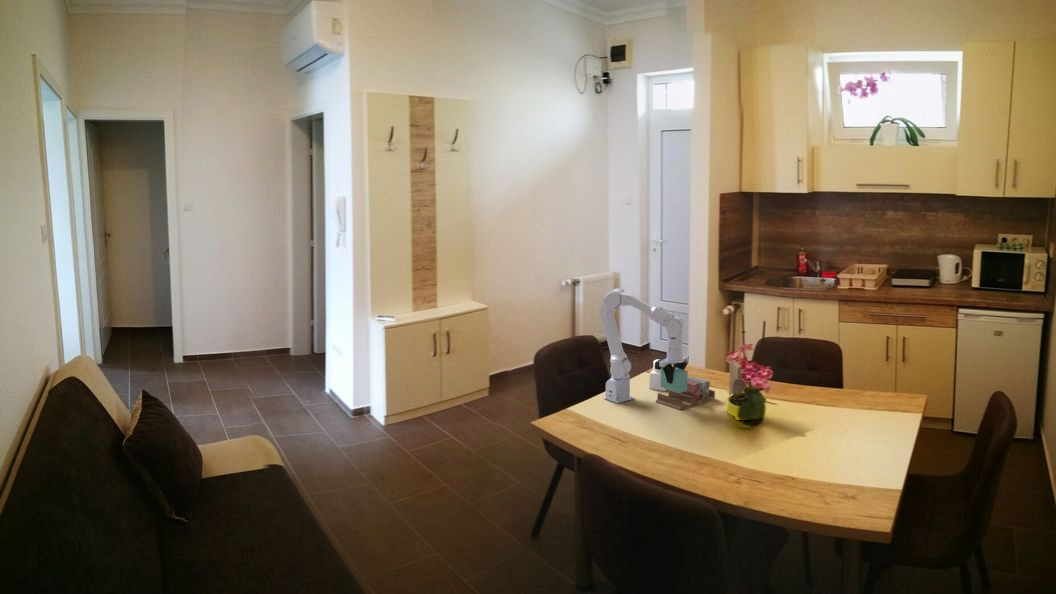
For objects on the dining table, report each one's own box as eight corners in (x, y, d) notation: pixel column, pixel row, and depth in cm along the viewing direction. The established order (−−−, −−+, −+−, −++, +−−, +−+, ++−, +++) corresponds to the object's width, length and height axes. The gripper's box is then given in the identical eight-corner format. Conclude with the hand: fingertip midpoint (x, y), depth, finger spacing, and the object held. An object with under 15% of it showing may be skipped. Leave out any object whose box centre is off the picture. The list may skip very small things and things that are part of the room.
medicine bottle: (671, 387, 300) (672, 359, 298) (665, 391, 294) (665, 363, 292) (655, 384, 304) (656, 357, 302) (648, 388, 298) (649, 361, 296)
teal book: (680, 393, 271) (680, 372, 269) (660, 386, 279) (661, 367, 277) (687, 391, 273) (687, 370, 272) (667, 384, 281) (668, 365, 280)
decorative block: (751, 421, 258) (753, 367, 255) (735, 420, 259) (737, 367, 255) (743, 411, 269) (745, 359, 266) (728, 410, 270) (730, 359, 266)
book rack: (679, 410, 271) (680, 389, 269) (655, 402, 280) (656, 382, 279) (714, 399, 283) (715, 380, 282) (691, 392, 293) (691, 373, 291)
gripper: (669, 352, 266) (668, 387, 268) (695, 346, 274) (694, 380, 277) (655, 349, 271) (654, 383, 274) (681, 343, 280) (680, 376, 282)
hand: (673, 381), depth 275 cm, fingers closed on teal book, 4 cm apart
